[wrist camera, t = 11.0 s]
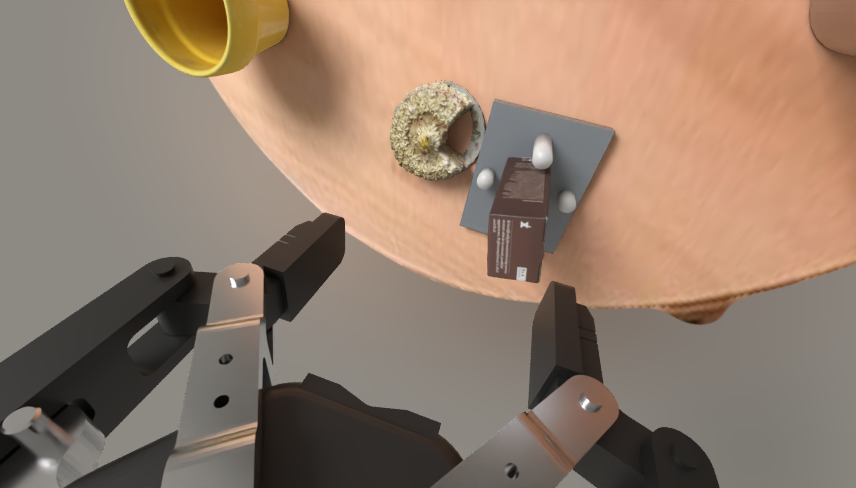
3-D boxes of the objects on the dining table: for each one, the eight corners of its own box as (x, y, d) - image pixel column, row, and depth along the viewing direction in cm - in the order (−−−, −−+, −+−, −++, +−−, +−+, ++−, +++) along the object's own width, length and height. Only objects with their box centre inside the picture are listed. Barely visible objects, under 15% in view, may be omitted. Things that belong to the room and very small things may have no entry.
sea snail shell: (404, 174, 40) (383, 192, 36) (389, 82, 35) (362, 91, 31) (487, 175, 36) (474, 196, 32) (484, 72, 31) (468, 81, 27)
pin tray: (612, 128, 30) (625, 150, 26) (552, 248, 39) (553, 281, 34) (495, 98, 32) (485, 113, 27) (461, 220, 40) (449, 249, 35)
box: (504, 156, 33) (487, 212, 24) (552, 157, 32) (554, 217, 23) (501, 210, 37) (485, 278, 27) (544, 212, 35) (544, 285, 26)
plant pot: (194, -30, 33) (87, -43, 26) (265, -91, 29) (162, -129, 21) (255, 79, 38) (179, 96, 30) (324, 41, 33) (257, 49, 26)
